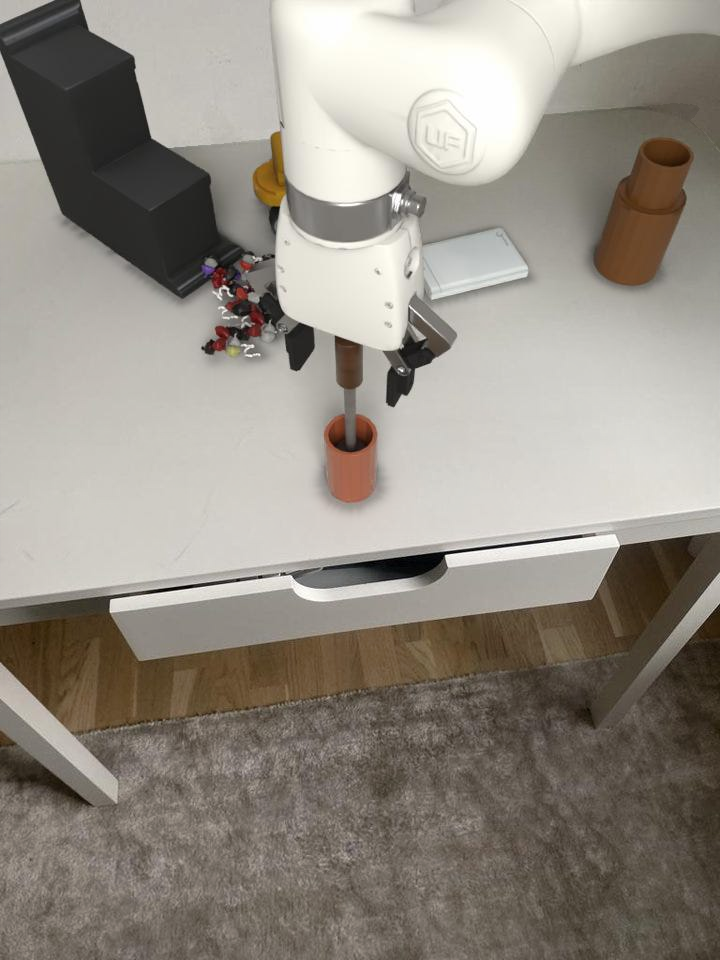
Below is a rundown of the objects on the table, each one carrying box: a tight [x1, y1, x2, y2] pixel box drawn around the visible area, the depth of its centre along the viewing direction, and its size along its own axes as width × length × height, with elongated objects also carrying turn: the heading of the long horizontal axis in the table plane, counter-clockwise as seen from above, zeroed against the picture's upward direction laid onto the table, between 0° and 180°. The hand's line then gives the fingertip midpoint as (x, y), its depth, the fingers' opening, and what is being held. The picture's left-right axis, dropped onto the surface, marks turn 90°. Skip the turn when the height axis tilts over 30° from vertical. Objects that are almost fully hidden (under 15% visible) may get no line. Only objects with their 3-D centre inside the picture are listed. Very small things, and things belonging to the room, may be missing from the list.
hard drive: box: [422, 227, 530, 301], centre depth 92 cm, size 2×8×12 cm
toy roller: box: [252, 130, 286, 236], centre depth 94 cm, size 9×14×10 cm, turn 103°
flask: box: [593, 136, 695, 286], centre depth 87 cm, size 8×8×15 cm
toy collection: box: [200, 250, 278, 358], centre depth 87 cm, size 15×14×5 cm
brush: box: [334, 335, 366, 452], centre depth 67 cm, size 3×3×20 cm
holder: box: [323, 413, 378, 504], centre depth 72 cm, size 5×5×8 cm
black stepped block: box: [0, 0, 246, 299], centre depth 86 cm, size 23×11×24 cm, turn 49°
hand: (349, 375), depth 62 cm, fingers open, 8 cm apart
